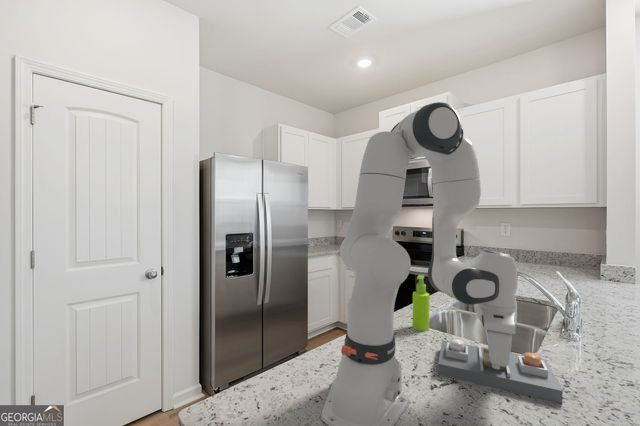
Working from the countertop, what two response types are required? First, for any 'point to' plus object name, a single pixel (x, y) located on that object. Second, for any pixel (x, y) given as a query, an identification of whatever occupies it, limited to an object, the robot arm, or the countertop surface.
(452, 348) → the white button
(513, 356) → the control panel
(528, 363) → the terracotta button
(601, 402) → the countertop surface
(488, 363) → the slider knob
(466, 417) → the countertop surface
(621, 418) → the countertop surface
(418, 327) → the soap dispenser
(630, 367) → the countertop surface
